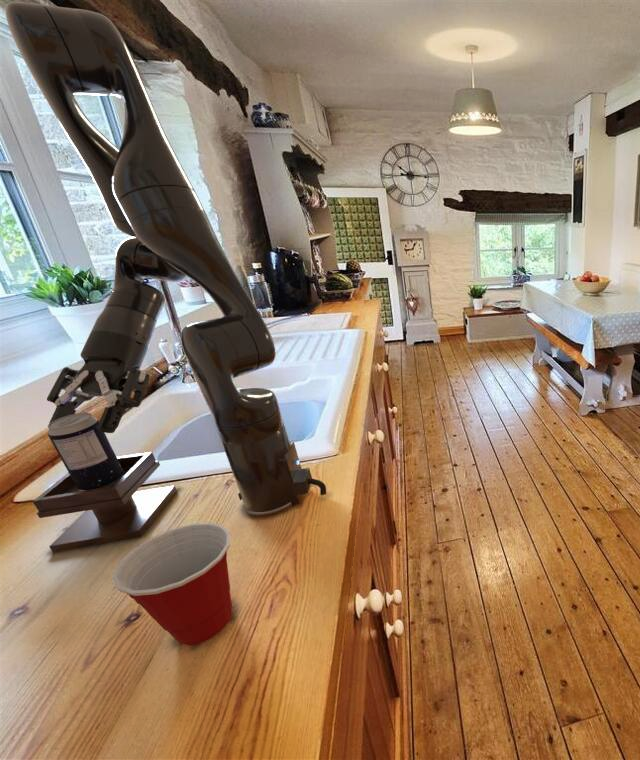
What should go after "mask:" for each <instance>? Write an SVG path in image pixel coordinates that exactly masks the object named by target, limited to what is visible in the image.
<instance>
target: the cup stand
mask: <svg viewBox="0 0 640 760" xmlns="http://www.w3.org/2000/svg"><path fill="white" fill-rule="evenodd" d="M116 457H117V459H118V461H119V463H120V465H121V467H122V469H123V474H122V476H121V477H120V479H119V481H118V482H117V483H115V484H114V485H112V486H110V487H106V488H100V489H93V490H87V491H85V490H79V489H78V488H77V486H76V485H75V483H74V481H73V479H72V477H71V476H70V474H69V472H68V471H67V473H66V474H64V475H63V476H62V477H60V479H58V480H57V481H56V482H55V483H53V484H51V486H49V488H47V489H45V491H44V492H42V493H41V494H40V495H38V496H37V497H36V498H35V499H34V500H32V503H33V505H34V506H35V508H36V509H37V512H36V515H37V516H38V518H39V519H44V518H50V517H56V516H62V515H68V514H73V513H74V514H75V513H79V512H83V513H82V514H80V516H79V517H78V518H77V519H76V520H74V521H73V522H72V524H70V526H68V527H67V528H66V529H65V530H64V531H63V532H62V533H61V534H60V535H59V536H58V537H57V538H56V539H55V540H54V541H53V542H51V544H50V545H49V546H48V547H49V550H51V552H52V553H55V552H61V551H68V550H74V549H79V548H84V547H89V546H95V545H100V544H106V543H112V542H118V541H123V540H124V541H125V540H130V539H133V538H139V537H143V535H144V534H145V532H146V531H147V530H148V529H149V527H150V526H151V525H152V523H153V522H154V521H155V520H156V519H157V517H158V516H159V514H160V513H161V512H162V510H163V509H164V508H165V506H166V505H167V504H168V503H169V501H170V500H171V499H172V498H173V496H175V494H176V492H177V490H178V489H177V488H176V485H170V486H169V485H168V486H163V487H157V488H156V487H155V488H149V489H142V490H139V489H140V488H141V487H142V485H144V484H145V482H146V481H147V480H148V479H149V478H150V477H151V476H152V475H153V473H154V472H155V471H156V470H157V469H159V467H160V466H161V464H160V461H159V460H156V457H155V455H154V453H153V451H148V452H141V453H134V454H127V455H121V456H116ZM138 490H139V491H138Z"/></svg>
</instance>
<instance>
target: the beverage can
mask: <svg viewBox="0 0 640 760" xmlns="http://www.w3.org/2000/svg"><path fill="white" fill-rule="evenodd" d="M99 421H100V419H98V418H96V417H95V416H93V414H92V413H91V412H78V413H77V412H76V413H75V414H72V415H68V416H65V417H62V418H59V419H57V420H55V421H53V422H51V423H50V424H49V423H48V425H47V428H48V431H47V436H48V438H49V440H50V441H51V443H52V445H53V447H54V449H55V451H56V453H57V455H58V456H59V458H60V459H61V461H62V463H63V465H64V467H65V468H66V470H67V473H68V472H69V474H70V476H71V477H72V479H73V481H74V483H75V485H76V486H77V488H78V489H79V490H85V491H87V490H93V489H100V488H106V487H110V486H112V485H114V484H115V483H117V482H118V481H119V479H120V477H121V476H122V474H123V469H122V467H121V465H120V463H119V461H118V459H117V457H118V456H117V455H116V453H115V451H114V449H113V447H112V445H111V443H110V441H109V439H108V437H107V434H106V433H105V432H101V431H98V430H97V426H98V424H99Z"/></svg>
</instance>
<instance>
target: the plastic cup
mask: <svg viewBox="0 0 640 760" xmlns="http://www.w3.org/2000/svg"><path fill="white" fill-rule="evenodd" d="M231 533H232V532H230V531H229V530H228V529H227V527H225V526H224V525H221V524H217V523H214V522H203V523H202V522H201V523H191V524H186V525H183V526H178V527H176V528H171V529H168V530H167V531H165V532H163V533H160V534H157V535H156V536H153V537H150V538H149V539H147V540H146V541H144V542H143V543H141V544H139V545H138V546H136V547H135V548H134V549H132V550H130V552H128V553H127V555H125V556H124V558H122V560H121V561H120V562H119V563H118V564H117V565H116V567H115V570H114V572H113V575H112V578H111V580H112V582H113V584H114V585H115V588H116V589H117V591H119V592H121V593H124V594H126V595H128V596H129V597H130V598H131V599H133V600H134V601H135V603H136V604H137V605H140V606H141V608H143V610H144V611H146V613H147V614H148V615H150V617H151V618H152V619H153V620H154V621H155V622H156V623H157V624H158V625H159V626H160V627H161V628H162V629H163V630H164V631H166V632H167V633H169V634H170V636H172V638H173V639H174V640H175V641H177V642H178V643H180V644H182V645H185V646H188V647H190V646H196V645H200V644H202V643H204V642H207V641H209V640H211V639H212V638H214V637H215V636H217V635H218V634H220V632H222V631H223V629H224V628H225V627H226V626H227V625H228V624H229V621H230V619H231V618H232V612H233V611H232V610H233V603H232V598H231V597H232V596H231V586H230V585H231V584H230V575H229V568H228V559H227V558H228V550H229V549H230V547H231V535H232V534H231Z"/></svg>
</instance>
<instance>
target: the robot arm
mask: <svg viewBox="0 0 640 760" xmlns="http://www.w3.org/2000/svg"><path fill="white" fill-rule="evenodd" d="M5 17H6V18H5V19H6V21H7V25H8V28H9V31H10V34H11V36H12V38H13V41H14V43H15V45H16V47H17V49H18V51H19V54H20V56H21V57H22V59H23V61H24V63H25V65H26V66H27V68H28V70H29V72H30V74H31V75H32V77H33V79H34V80H35V82H36V83H35V84H37V86H38V88H39V89H40V92H41V93H42V95H43V97H44V99H45V100H46V102H47V103H48V105H49V107H50V109H51V110H52V113H53V114H54V116H55V118H56V119H57V121H58V123H59V124H60V126H61V128H62V129H63V131H64V133H65V135H66V136H67V138H68V139H69V141H70V143H71V144H72V146H73V147H74V149H75V151H76V152H77V154H78V155H79V157H80V158H81V160H82V162H83V164H84V165H85V167H86V169H87V170H88V173H89V174H90V176H91V177H92V180H93V182H94V183H95V185H96V187H97V189H98V192H99V194H100V196H101V199H102V201H103V204H104V205H105V208H106V211H107V212H108V214H109V216H110V218H111V221H112V223H113V225H114V226H115V227H116V228H117V229H118V230H119V231H120V232H122V233H123V234H125V235H128V236H130V237H128V238H126V239H124V240H122V241H121V242H120V244H118V246H117V247H116V250H115V269H114V270H115V271H114V281H113V288H112V291H111V292H110V295H109V297H108V299H107V302H106V303H105V306H104V307H103V310H102V311H101V312H100V314H99V315H98V316H97V318H96V320H95V321H94V325H93V327H92V328H91V331H90V333H89V335H88V337H87V339H86V341H85V343H84V345H83V348H82V350H81V352H80V357H81V359H82V360H83V361H84V364H83V366H82V367H81V368H80V369H74V368H71V367H68V366H66V367H63V368H62V369H61V371H60V373H59V375H58V377H57V378H56V380H55V382H54V384H53V386H52V387H51V390H50V391H49V393H48V395H47V396H46V401H47V402H50V403H52V404H54V406H56V407H55V409H54V412H53V414H52V416H51V419H50V421H49V422H48V425H49V424H50V423H51V422H53V421H55V420H57V419H59V418H62V417H65V416H68V415H72V414H76V413H77V409H78V407H80V406H81V405H82V404H83V403H84V402H88V401H91V400H92V399H94V397H97V398H98V397H99V398H100V397H105V400H106V404H107V406H105V407H104V409H103V411H102V413H101V414H102V415H101V417H100V418H99V424H98V426H97V430H98V431H101V432H104V433H105V434H113V433H115V432H116V430H117V428H118V427H119V425H120V423H121V421H122V417H123V415H124V412H126V411H128V410H130V408H138V407H140V406H141V404H142V401H143V398H144V395H145V392H146V389H147V386H148V383H149V380H150V377H151V374H150V373H148V372H146V371H145V370H142V369H141V367H142V365H143V362H144V360H145V358H146V355H147V352H148V350H149V347H150V345H151V343H152V340H153V337H154V335H155V330H156V325H157V323H158V320H159V318H160V315H161V313H162V311H163V308H164V305H165V301H166V298H165V295H164V293H163V292H162V291H161V290H159V289H158V288H156V287H155V286H153V285H150V284H149V283H146V282H144V280H145V279H150V280H151V279H153V280H158V281H164V282H169V283H180V282H183V281H186V279H188V278H189V279H191V280H192V281H193V282H194V283H196V284H197V285H198V286H199V287H201V289H203V291H205V292H206V293H207V294H208V295H209V297H210V299H212V301H213V302H214V303H215V305H216V306H217V308H218V309H219V310H220V312H221V314H222V315H223V316H221V317H220V316H219V317H215V318H211V319H207V320H202V321H199V322H194V323H190V324H188V325H186V326H184V327H183V328H182V330H181V333H180V342H181V348H182V351H183V354H184V356H185V359H186V361H187V364H188V366H189V368H190V371H191V372H192V375H193V377H194V379H195V381H196V385H197V386H198V388H199V391H200V393H201V396H202V398H203V401H204V403H205V405H206V407H207V409H208V411H209V413H210V415H211V417H212V419H213V422H214V425H215V428H216V431H217V433H218V436H219V439H220V442H221V444H222V447H223V450H224V453H225V455H226V459H227V461H228V464H229V467H230V469H231V472H232V475H233V477H234V481H235V482H236V486H237V488H238V491H239V492H238V494H237V496H238V498H239V502H241V501H242V503H243V507H244V509H245V511H246V513H247V514H249V515H250V516H255V517H265V516H271V515H275V514H278V513H281V512H283V511H285V510H287V509H289V508H291V507H293V506H297V505H300V502H301V501H302V497H303V495H306V494H309V491H310V489H311V488H310V487H311V485H314V486H317V487H318V488H319V490H320V496H324V495H327V486H326V484H325V483H324V482H323V481H322V480H320V479H316V478H313V476H312V473H311V469H310V467H305V468H302V465H301V462H300V459H299V455H298V450H297V447H296V444H295V442H294V440H291V441H290V439H289V436H288V432H287V429H286V425H285V421H284V418H283V415H282V411H281V407H280V404H279V401H278V397H277V395H276V393H275V392H274V391H273V390H271V389H268V388H263V387H242V388H241V387H236V384H235V382H234V380H233V379H237V378H239V377H242V376H244V375H248V374H250V373H251V374H252V373H254V372H256V371H259V370H262V369H264V368H268V367H269V366H272V365H273V363H274V362H275V359H276V356H277V355H276V354H277V352H276V351H277V350H276V345H275V342H274V339H273V337H272V333H271V332H270V330H269V328H268V326H267V324H266V322H265V321H264V319H263V317H262V316H261V314H260V312H259V310H258V309H257V307H256V305H255V304H254V302H253V301H252V299H251V297H250V296H249V294H248V292H247V290H246V289H245V288H244V286H243V284H242V283H241V280H240V279H239V277H238V276H237V274H236V272H235V271H234V268H233V266H232V265H231V263H230V261H229V259H228V257H227V256H226V253H225V251H224V249H223V247H222V245H221V243H220V241H219V239H218V237H217V235H216V232H215V231H214V228H213V226H212V224H211V221H210V218H209V217H208V214H207V213H206V210H205V209H204V206H203V205H202V202H201V200H200V198H199V196H198V195H197V192H196V190H195V188H194V187H193V185H192V183H191V181H190V179H189V178H188V177H189V176H188V175H187V174H186V171H185V170H184V167H183V166H182V164H181V163H180V160H179V159H178V156H177V154H176V152H175V151H174V149H173V147H172V145H171V143H170V141H169V139H168V137H167V135H166V133H165V131H164V128H163V126H162V124H161V122H160V119H159V117H158V114H157V112H156V110H155V108H154V105H153V103H152V101H151V98H150V96H149V94H148V91H147V89H146V86H145V83H144V82H143V79H142V76H141V75H140V72H139V70H138V67H137V65H136V62H135V60H134V59H133V56H132V54H131V52H130V49H129V47H128V45H127V44H126V42H125V39H124V38H123V35H122V34H121V33H120V31H119V30H118V28H117V26H116V25H115V24H114V23H113V22H112V21H111V20H110V18H108V17H107V16H105V15H104V14H102V13H100V12H95V11H92V10H88V9H81V8H72V7H63V6H56V5H48V4H41V3H36V2H25V1H10V2H8V3H7V4H6V5H5ZM75 95H89V96H90V95H91V96H115V97H117V98H119V100H120V101H121V103H122V105H123V110H124V111H123V112H124V119H123V120H124V122H123V132H122V138H121V141H120V146H119V148H118V146H116V145H115V144H114V143H113V142H112V141H111V140H109V139H108V138H107V137H106V136H105V135H104V134H103V133H102V132H101V131H100V130H99V129H98V128H97V127H96V126H95V125H94V124H93V122H91V120H90V119H89V118H88V116H86V115H85V113H84V111H83V110H82V108H81V106H80V105H79V103H78V101H77V100H76V98H75ZM79 389H80V390H79ZM62 390H64V393H63V394H62V395H60V394H61V392H62ZM133 393H134V394H133ZM132 394H133V397H131V396H132ZM73 398H74V399H73Z"/></svg>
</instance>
